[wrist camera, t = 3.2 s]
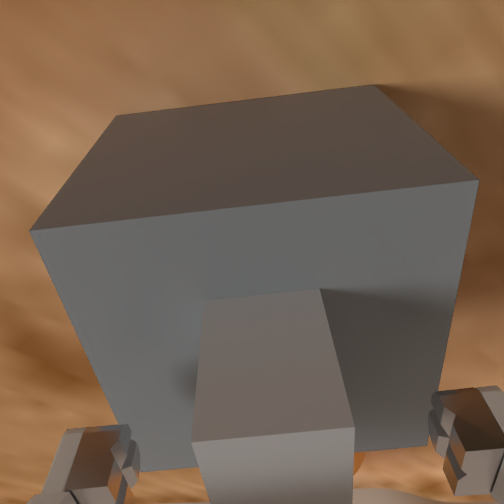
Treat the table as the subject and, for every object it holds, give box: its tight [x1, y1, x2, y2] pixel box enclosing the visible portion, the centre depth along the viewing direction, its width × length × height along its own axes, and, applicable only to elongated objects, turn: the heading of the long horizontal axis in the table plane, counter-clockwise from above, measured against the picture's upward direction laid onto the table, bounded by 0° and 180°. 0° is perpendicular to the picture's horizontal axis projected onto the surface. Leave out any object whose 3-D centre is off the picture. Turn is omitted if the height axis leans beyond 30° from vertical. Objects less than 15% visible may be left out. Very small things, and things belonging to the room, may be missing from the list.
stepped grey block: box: [29, 85, 479, 504], centre depth 15 cm, size 10×10×13 cm
